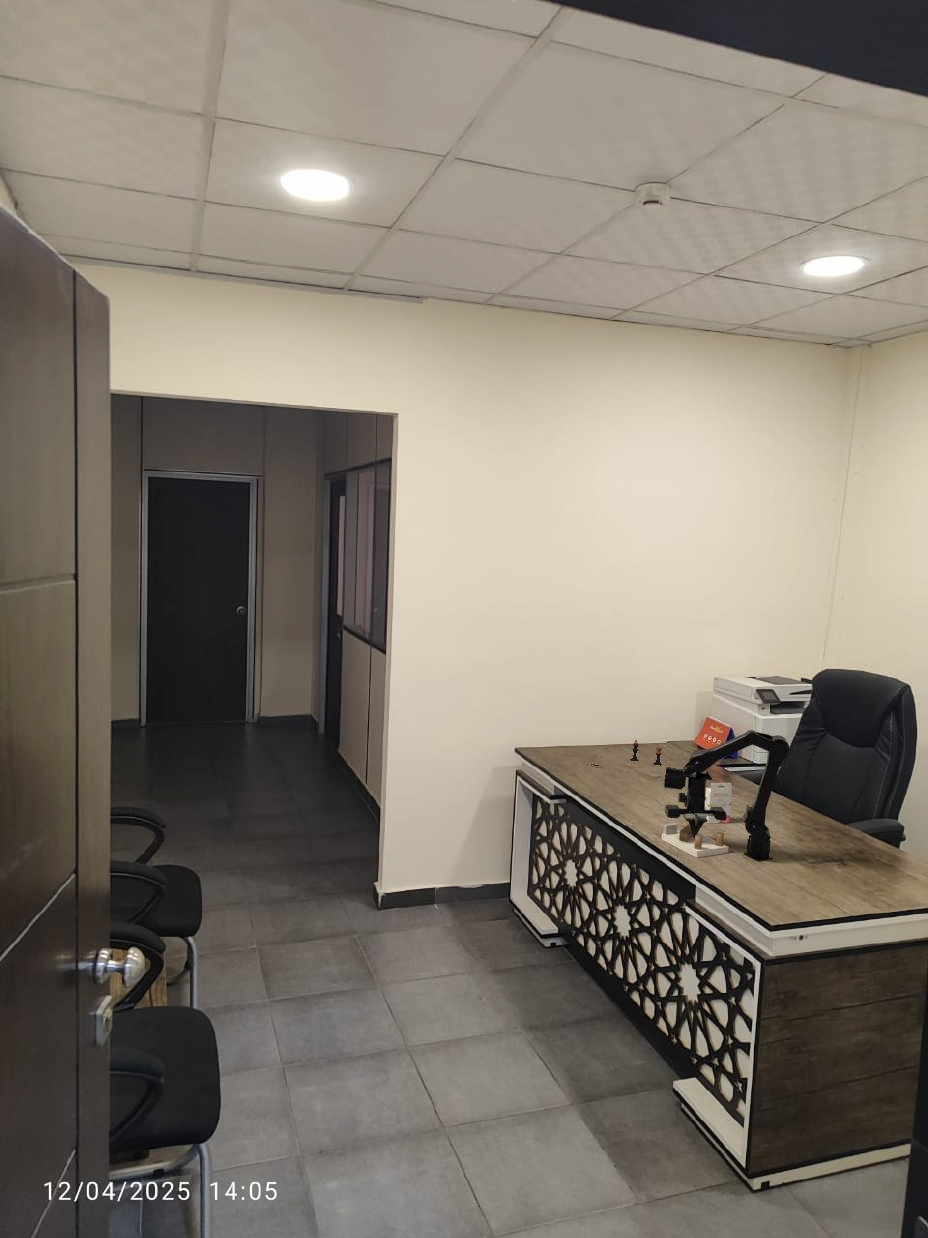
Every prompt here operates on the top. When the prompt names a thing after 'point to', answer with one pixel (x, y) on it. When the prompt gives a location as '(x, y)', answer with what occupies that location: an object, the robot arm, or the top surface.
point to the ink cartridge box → (719, 800)
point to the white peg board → (695, 842)
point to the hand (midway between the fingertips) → (693, 838)
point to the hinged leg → (685, 833)
